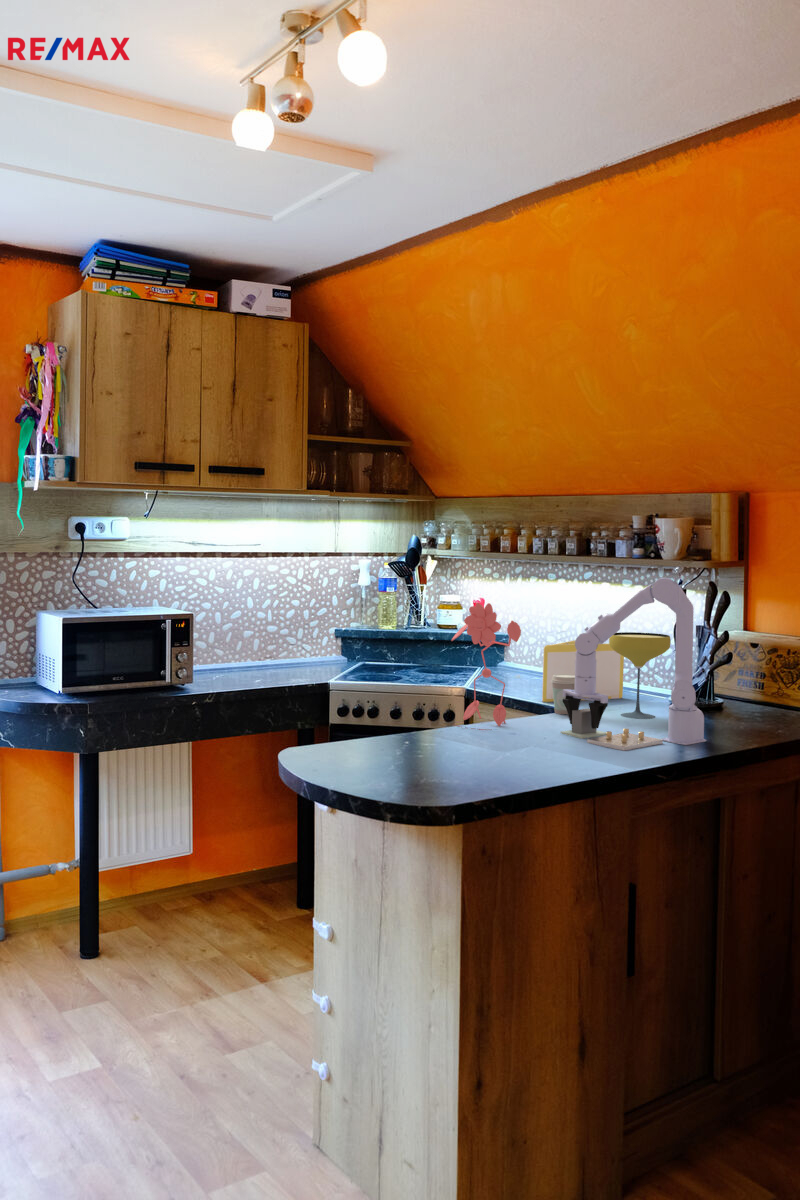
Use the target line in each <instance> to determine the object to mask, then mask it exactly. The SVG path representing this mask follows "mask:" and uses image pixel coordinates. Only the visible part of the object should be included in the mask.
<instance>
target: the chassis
mask: <svg viewBox="0 0 800 1200" xmlns="http://www.w3.org/2000/svg"><path fill="white" fill-rule="evenodd" d="M629 730H630V728H623V730H622V731H623V732H622V733H615V734H613V733H612V732H613V731H609V730H608V731H605V732H606V735H604V736H597V737H590V738H586V740H587V741H586V743H587V744H592V745H597V746H600V747H604V748H610V749H615V750H617V751H618V750H619V751H623V752H624V751H629V750H635V749H641V748H646V747H650V746H657V745H662V744H664V741H663V740H661V739H662V738H661V739H660V738H654V737H650V736H647V735H646V736H645V732H644V731H638V734H635V733H629V732H630V731H629Z"/></svg>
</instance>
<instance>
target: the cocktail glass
mask: <svg viewBox="0 0 800 1200" xmlns="http://www.w3.org/2000/svg"><path fill="white" fill-rule="evenodd" d="M671 642H672V641H671V636H670V635H668V634H663V633H652V632H635V631H634V632H631V631H630V632H629V631H627V632H624V631H622V632H616V633H615V634H614V635H613V636H611V637H610V638H609V639H608V643H609V644H610V647H611V648H612V649H613V650H614V651H616V652H617V653H619V654H620V655H622V656H624V658H626V659H628V660H629V661H630V662H631V663H632V664H633V666H634V667H635V668H636V669H637V680H636V681H637V687H636V688H637V689H636V703H635V709H634V711H632V712H622V713H621V714H620V716H621V717H623V718H628V719H632V720H633V719H635V720H652V719H655V718H656V715H653V714H649V713H645V712H642V711H641V706H640V679H641V678H640V675H641V669H642V668H644V666H645V665H646V664H647V663H648V662H650V661H651V660H653V659H655V658H657V657H660V656H661V655H664V654H665V653H666V652H667V651H668V650H669V649H670V648H671V645H672V644H671Z"/></svg>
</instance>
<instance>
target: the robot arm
mask: <svg viewBox="0 0 800 1200" xmlns="http://www.w3.org/2000/svg"><path fill="white" fill-rule="evenodd" d="M655 600H656V601H657V602H660V603H661V604H663V605H666V607H667V606H668V608H669V609H670V610H671V611H673V613H674V614H675V655H674V657H675V660H674V661H675V663H674V664H675V666H674V668H675V669H674V673H675V674H674V684H673V687H672V688H671V691H670V699H671V703H672V704H670V705H668V727H667V728H668V730H667V734H668V735H667V737H664V738H661V740H663V742H667V743H672V744H678V745H682V746H688V745H695V744H701V743H705V742H707V739H705V738H704V735H705V732H704V731H705V715H704V713H703V711H702V710H700V709H699V708H698V706H697V705H696V704H695V703H696V700H697V697H696V695H697V694H696V689H695V687H694V685H693V661H694V660H693V659H694V657H693V656H694V655H693V652H694V604H693V603H692V601H691V600H690V599H689V598H688V596H687V594H686V593H685V591H684V590H683V589H682V587H681V585H680V584H678V583H677V582H675V581H674V580H673V579H671V578H669V577H660V578H657V580H655V582H653V583H651V584H648V585H647V586H646V587H643V589H641V590H639V591H638V592H637V593H635V594H634V595H633V596H632V597H631V598H629V600H628V601H626V602H625V603H624V604H622V606H620V607H619V608H618V609H617V610H616V611H615V612H614V613H604V614H600V615H599V616H598V617H597V620H596V621H595V622H594V623H593V624H591V625H590V626H589V627H588V626H586V627H585V628H584V631H585V632H582V633H580V634H579V635H578V636H577V637H576V638H575V640H576V641H575V648H576V650H577V651H576V660H575V690H570V689H564V690H563V697H566V698H565V699H562V701H563V703H564V705H565V707H566V709H567V712H568V715H567V716H568V720H569V724H570V725H572V710H580V709H579V708H580V704H581V701H582V700H581V699H584V700H583V701H589V702H588V707H589V709H590V712H591V727H592V728H593V729H595V728H597V729H599V727H600V723H601V719H602V716H603V714H604V712H605V711H606V709H607V708H608V705H609V699H608V696H607V695H602V694H599V693H596V663H597V661H596V651H595V650H596V649H597V647H598V644H605V642H606V641H609V638H610V637H611V636H613V635H614V634H615V633H619V631H620V629H621V624H622V622H623V621H624V620H626V619H627V618H628V617H630V616H631V615H632V614H633V613H635V612H636V611H638V610H639V609H640V608H641V607H642V606H645V605H648V604H654V603H655ZM585 697H588V698H585ZM590 701H591V702H590Z"/></svg>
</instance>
